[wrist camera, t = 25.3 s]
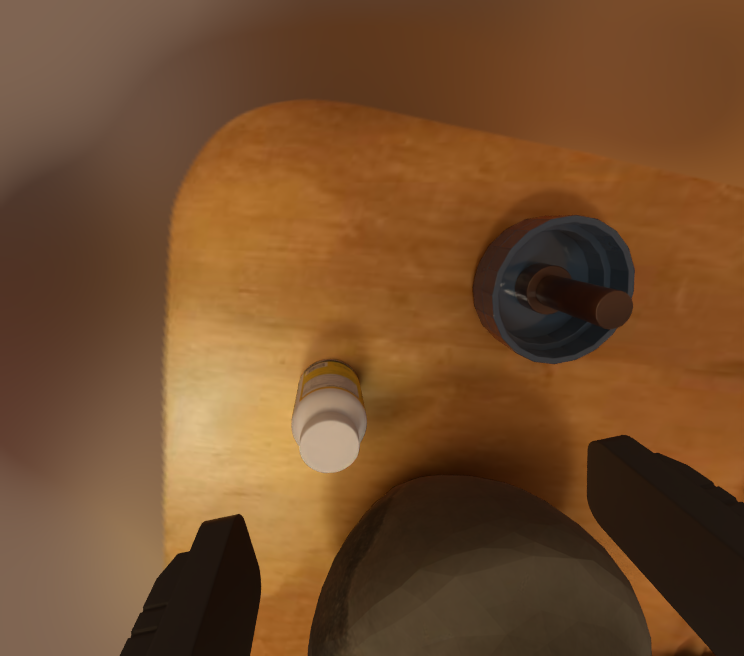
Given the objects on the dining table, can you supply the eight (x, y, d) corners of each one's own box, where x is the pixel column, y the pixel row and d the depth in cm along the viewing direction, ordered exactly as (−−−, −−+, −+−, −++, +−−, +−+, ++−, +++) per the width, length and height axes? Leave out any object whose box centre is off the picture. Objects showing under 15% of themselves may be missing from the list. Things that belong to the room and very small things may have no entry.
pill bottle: (327, 423, 41) (327, 498, 30) (285, 384, 39) (268, 448, 28) (372, 385, 40) (388, 447, 29) (331, 344, 39) (331, 393, 28)
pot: (250, 558, 45) (161, 940, 21) (434, 372, 41) (584, 584, 17) (418, 656, 53) (493, 1017, 29) (587, 508, 49) (836, 784, 25)
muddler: (513, 267, 38) (584, 284, 27) (558, 259, 38) (646, 273, 28) (515, 312, 39) (584, 346, 29) (558, 304, 39) (642, 334, 29)
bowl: (465, 228, 37) (488, 229, 32) (595, 206, 38) (638, 204, 33) (475, 355, 41) (497, 375, 36) (593, 333, 42) (631, 349, 36)
